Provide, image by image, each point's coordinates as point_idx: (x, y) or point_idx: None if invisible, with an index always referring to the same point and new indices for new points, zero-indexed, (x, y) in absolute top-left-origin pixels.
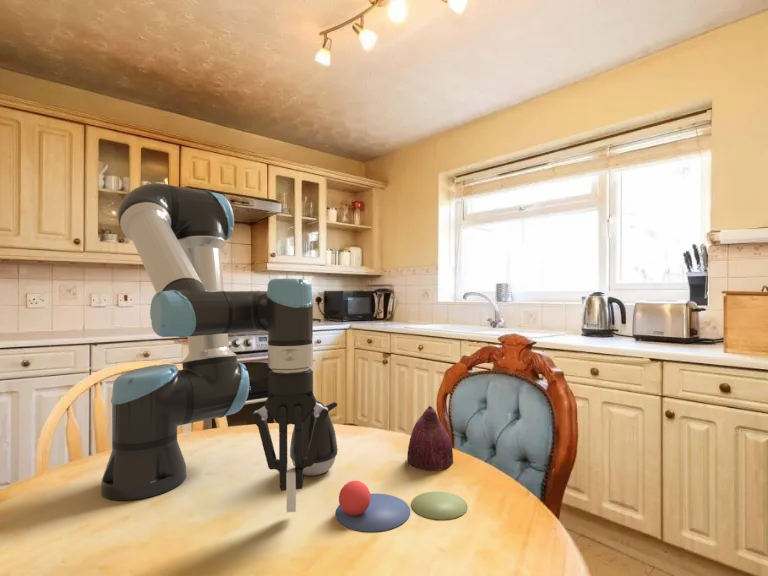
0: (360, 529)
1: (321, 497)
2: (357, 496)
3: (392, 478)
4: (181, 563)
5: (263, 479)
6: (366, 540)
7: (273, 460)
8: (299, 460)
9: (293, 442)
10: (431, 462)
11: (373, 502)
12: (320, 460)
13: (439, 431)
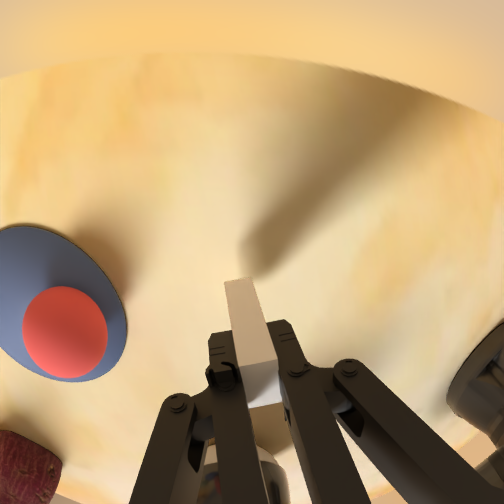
0: (42, 232)
1: (182, 376)
2: (36, 311)
3: (59, 425)
4: (441, 115)
5: None
6: (24, 189)
7: (351, 389)
8: (226, 411)
9: (283, 497)
10: (6, 443)
11: None
12: (208, 467)
13: None
